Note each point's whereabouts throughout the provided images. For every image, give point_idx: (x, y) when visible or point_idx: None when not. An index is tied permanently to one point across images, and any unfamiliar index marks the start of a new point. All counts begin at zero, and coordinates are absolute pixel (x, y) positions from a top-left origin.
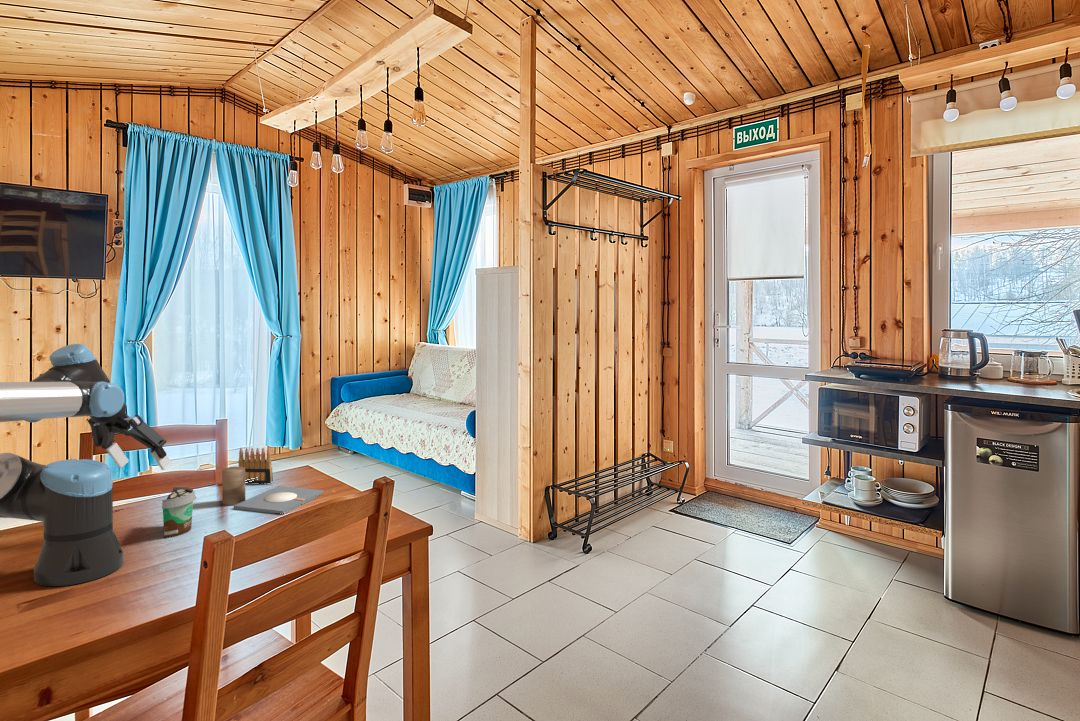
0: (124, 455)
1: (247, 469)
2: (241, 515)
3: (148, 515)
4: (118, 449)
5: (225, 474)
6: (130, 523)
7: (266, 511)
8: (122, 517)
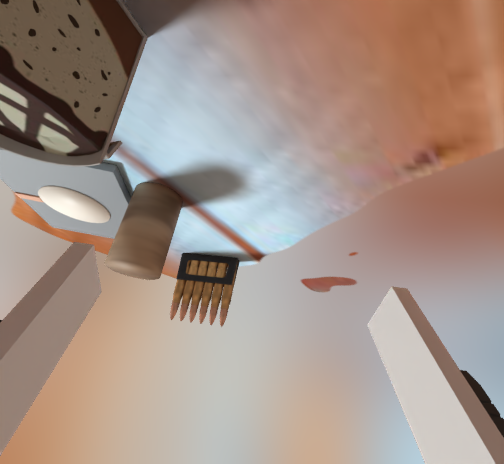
0: (386, 363)
1: (214, 281)
2: None
3: (301, 124)
4: (419, 424)
5: (131, 254)
6: (321, 45)
7: None
8: (383, 106)
